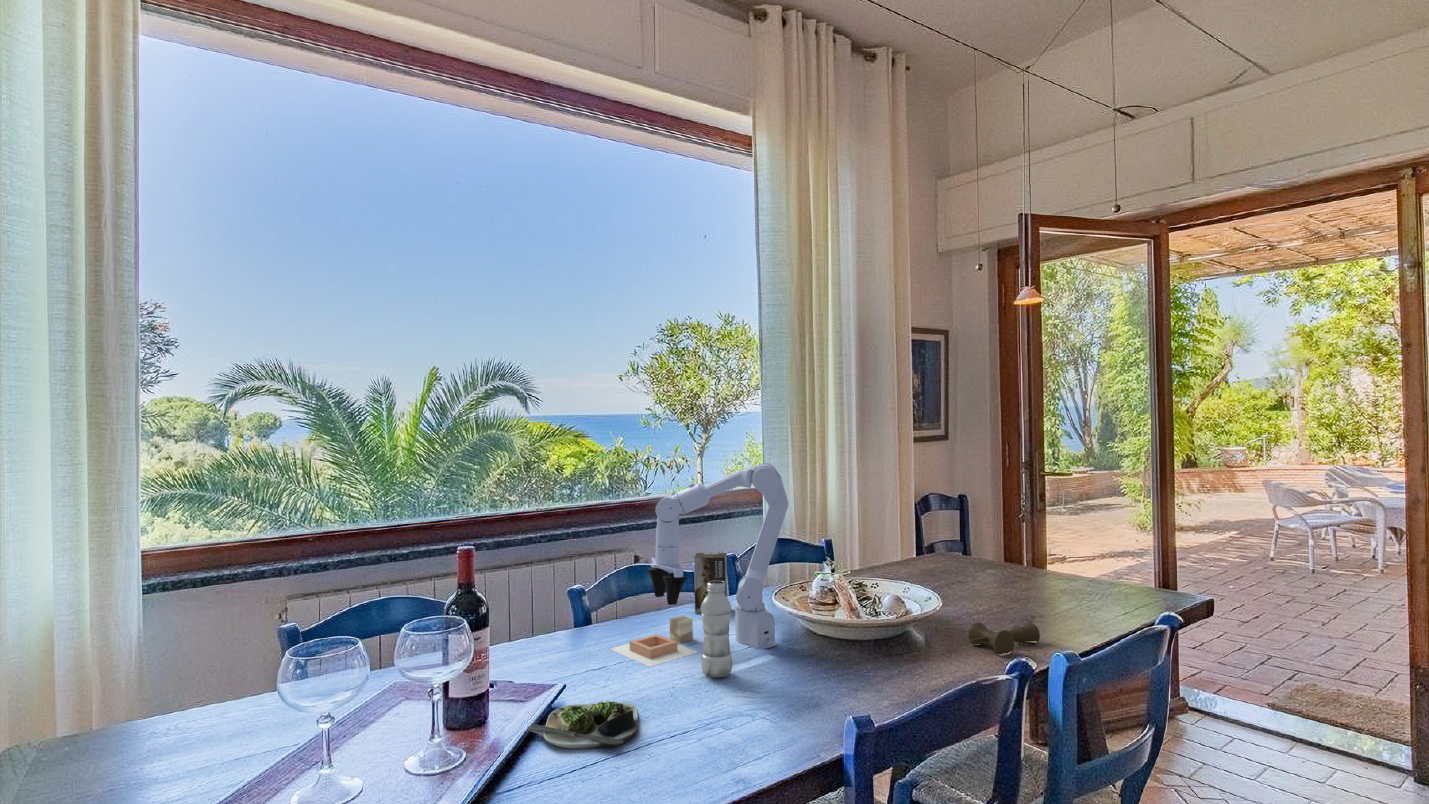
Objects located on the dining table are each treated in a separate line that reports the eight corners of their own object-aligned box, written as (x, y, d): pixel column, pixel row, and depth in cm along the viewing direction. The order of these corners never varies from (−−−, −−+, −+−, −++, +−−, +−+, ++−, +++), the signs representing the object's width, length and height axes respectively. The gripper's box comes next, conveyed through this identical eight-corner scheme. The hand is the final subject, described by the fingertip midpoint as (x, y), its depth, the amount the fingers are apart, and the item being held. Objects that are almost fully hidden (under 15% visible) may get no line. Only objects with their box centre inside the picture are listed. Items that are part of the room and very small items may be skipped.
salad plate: (519, 760, 114) (519, 731, 114) (536, 713, 132) (536, 689, 132) (637, 753, 116) (637, 725, 116) (639, 708, 134) (638, 684, 134)
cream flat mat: (698, 656, 162) (698, 651, 162) (649, 671, 152) (649, 666, 152) (656, 639, 173) (656, 635, 174) (609, 652, 164) (609, 648, 164)
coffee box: (728, 608, 202) (727, 552, 202) (726, 614, 195) (725, 556, 196) (696, 607, 203) (696, 552, 203) (694, 613, 196) (693, 556, 196)
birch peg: (692, 643, 171) (692, 618, 171) (680, 647, 168) (679, 622, 168) (682, 639, 174) (682, 615, 174) (669, 643, 171) (669, 618, 171)
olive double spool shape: (1049, 650, 165) (985, 660, 158) (1017, 640, 174) (955, 648, 166) (1049, 625, 166) (984, 633, 158) (1017, 615, 175) (954, 623, 167)
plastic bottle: (729, 682, 145) (729, 586, 146) (698, 680, 147) (697, 585, 147) (735, 671, 152) (734, 579, 152) (704, 669, 153) (704, 578, 154)
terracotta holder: (677, 650, 163) (677, 641, 163) (649, 658, 157) (649, 649, 157) (656, 642, 169) (656, 634, 169) (629, 650, 163) (629, 641, 163)
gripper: (641, 541, 177) (639, 594, 176) (664, 551, 164) (663, 609, 164) (666, 539, 180) (664, 592, 180) (691, 549, 167) (689, 606, 167)
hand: (665, 600), depth 172 cm, fingers open, 7 cm apart
